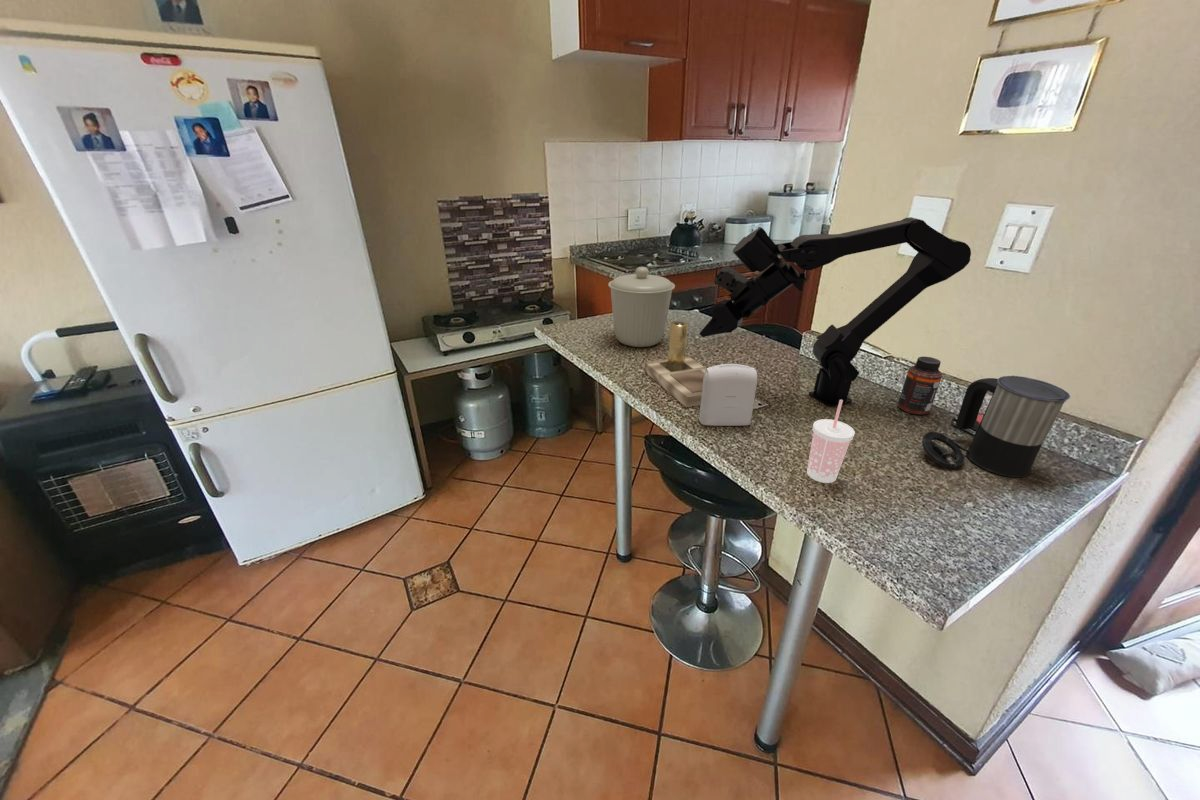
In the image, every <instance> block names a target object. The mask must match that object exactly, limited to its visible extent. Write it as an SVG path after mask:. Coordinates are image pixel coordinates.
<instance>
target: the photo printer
mask: <svg viewBox="0 0 1200 800" xmlns="http://www.w3.org/2000/svg"><path fill="white" fill-rule="evenodd" d="M757 384H758V372H757V370H756V368H754V367H752V366H749V365H745V364H744V365H743V364H737V363H723V364H717V365H716V364H715V365H713V366H710V367H707V368H706V370H705V375H704V378H703V387H702V397H701V405H700V408H699V417H698V418H699V419H698V421H699V423H700V424H701V425H703V426H716V427H717V426H721V427H722V426H724V427H725V426H731V427H732V426H735V427H736V426H739V427H740V426H750V425H751V422H752V415H753V411H754V410H753V409H754V404H755V399H756V398H755V396H756V392H757V391H756V390H757Z"/></svg>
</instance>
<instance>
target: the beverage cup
mask: <svg viewBox="0 0 1200 800" xmlns="http://www.w3.org/2000/svg"><path fill="white" fill-rule="evenodd" d="M842 402H843V400H840V401H839V404H838V405H837V408H836V413H835V416H834V419H829V418H823V419H817V420H816V421H814V422H813V424H812V428H811V429H812V432H813V433H812V438H811V439H812V440H811V445H810V451H809V456H808V463H807V469H806V473H807V475H808V477H809V478H810V479H813V480H814V481H816V482H819V483H822V484H823V483H824V484H831V483H834V482H835V481H837V477H838V475H839V472H840V469H841V468H842V464H843V462H844V459H845V457H846V453H847V450H848V448H849V445H850V442H851V441H853V439H854V437H855V433H856V432H855V430H854V428H853V427H852V426H850V425H849V424H847V423H845V422H842V421H840V420H839V416H840V412H841V409H842V406H843V404H842Z"/></svg>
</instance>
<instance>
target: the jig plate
mask: <svg viewBox="0 0 1200 800" xmlns="http://www.w3.org/2000/svg"><path fill="white" fill-rule="evenodd" d="M667 365H668V358H665V359H658V360H652V361H645V362H644V373H645V374H647V375H648V376H649V377H650V378H651V379H653V381H655V382H656V383H657V384H658V385H660V387H662V388H663V389H664V390H665V391H666V392H667V393H669V394H670V395H671V396H673V398H675V399H676V400H677V401H678V402H679V403H681V404H682V405H683V406H684V407H685V408H687V407H688V408H693V407H692V406H694V407H699V406H701V397H702V387H703V378H704V375H705V370H706V369H707V368H706V367H705V366H703V365H701V364H700V363H698V362H697V361H696V360H694V359H693V358H691V357H690V356H689V355H688V356H686V355H685V364H684V370H681V371H674V372H670V371H669V370H667ZM698 405H699V406H698Z"/></svg>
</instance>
